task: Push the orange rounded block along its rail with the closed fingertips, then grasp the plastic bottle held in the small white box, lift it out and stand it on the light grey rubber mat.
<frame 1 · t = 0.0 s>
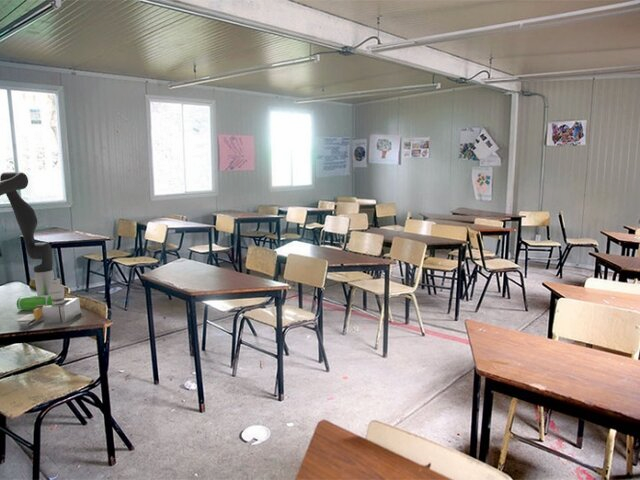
small white box: (60, 318, 238), on the table
plastic bottle: (60, 318, 238), resting in small white box
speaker: (37, 309, 254), on the table
orange rounded block: (40, 312, 236), point 4 cm above the table, slide at 0.0 cm
mat: (30, 318, 240), on the table
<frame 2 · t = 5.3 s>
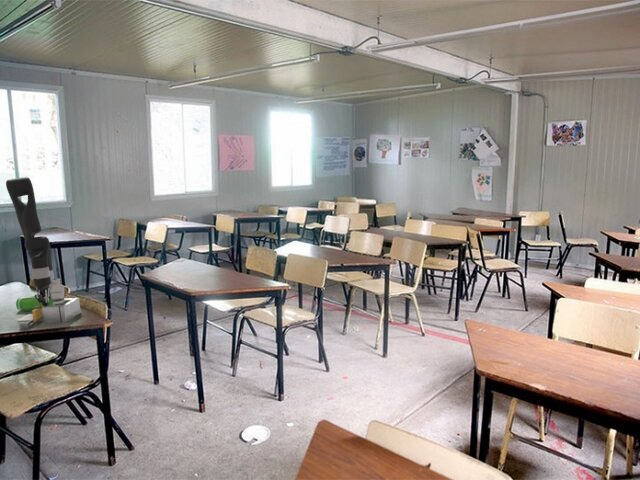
hand: (46, 309, 241), 4 cm above the table, fingers closed
orange rounded block: (38, 313, 235), point 4 cm above the table, slide at 1.2 cm, touching gripper
everything else where it was.
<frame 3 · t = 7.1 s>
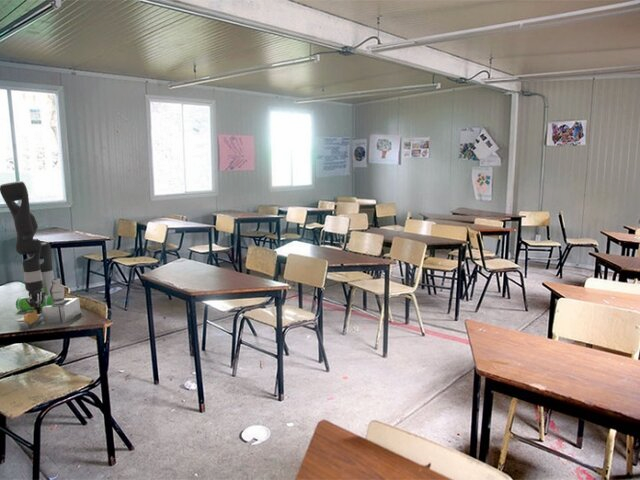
hand: (38, 313, 234), 4 cm above the table, fingers closed
orange rounded block: (30, 317, 228), point 4 cm above the table, slide at 8.1 cm, touching gripper
everything else where it was.
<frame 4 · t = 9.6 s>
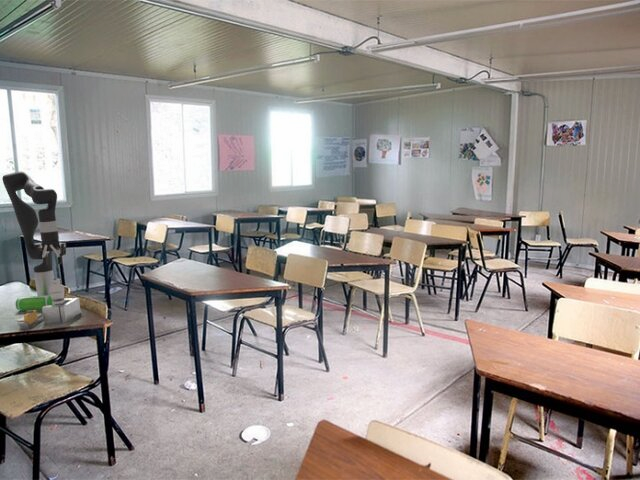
hand: (53, 264, 233), 28 cm above the table, fingers open, 6 cm apart
orange rounded block: (30, 317, 228), point 4 cm above the table, slide at 8.1 cm
everything else where it was.
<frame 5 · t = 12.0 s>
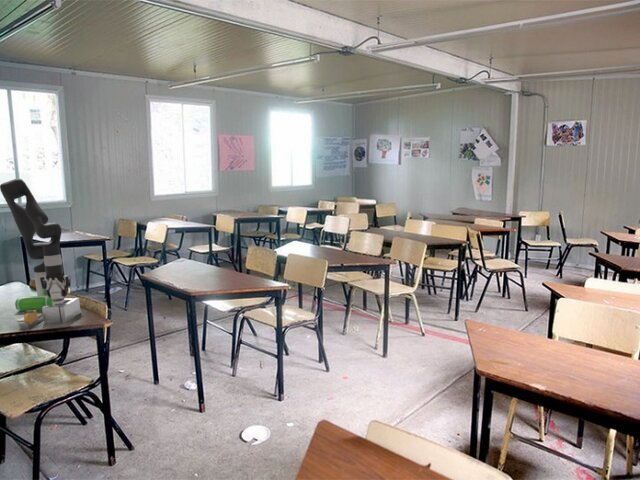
hand: (57, 296, 236), 11 cm above the table, fingers closed on plastic bottle, 6 cm apart
plastic bottle: (60, 318, 238), resting in small white box, touching gripper
everything else where it was.
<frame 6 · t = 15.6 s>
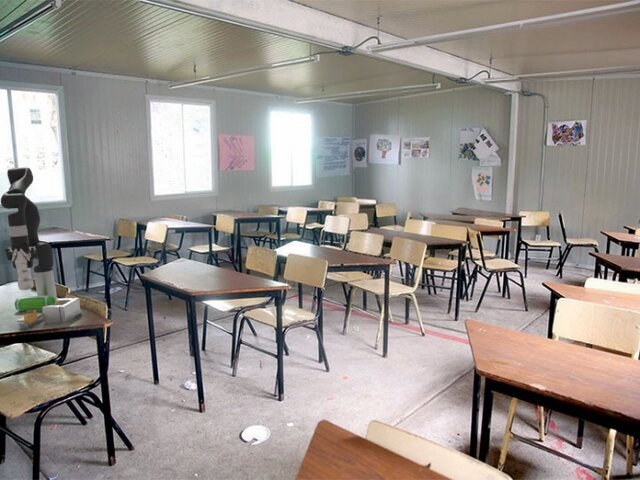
hand: (23, 267, 235), 26 cm above the table, fingers closed on plastic bottle, 6 cm apart
plastic bottle: (26, 290, 237), point 15 cm above the table, touching gripper
everything else where it was.
when the fingers open (13 cm above the table, at t = 18.9 s): plastic bottle stays where it is, resting on mat.
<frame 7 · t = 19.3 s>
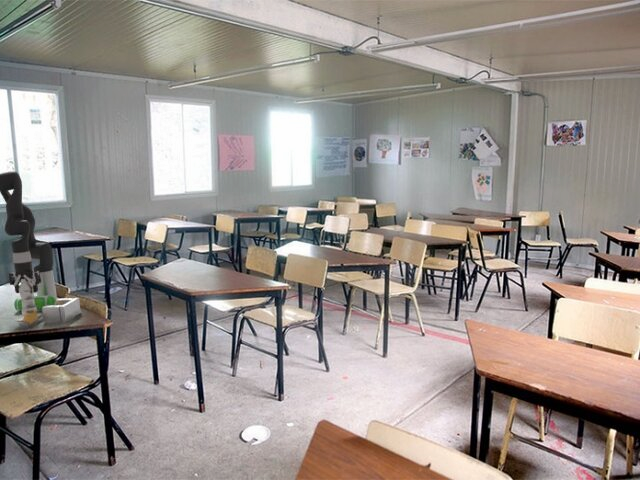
hand: (27, 292, 237), 13 cm above the table, fingers open, 8 cm apart
plastic bottle: (30, 317, 240), resting on mat
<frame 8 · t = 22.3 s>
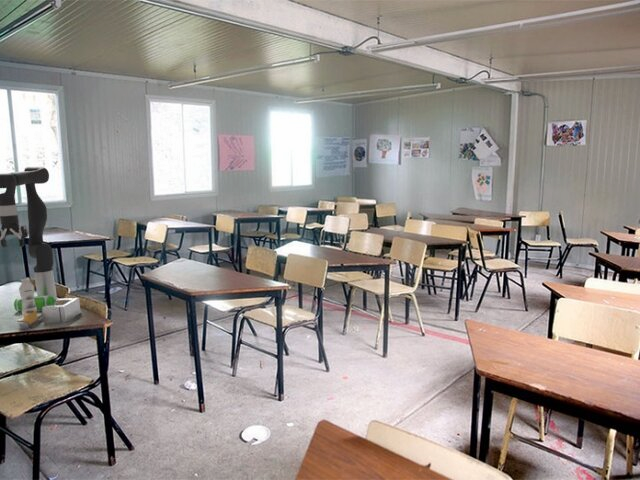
hand: (13, 246, 237), 36 cm above the table, fingers open, 8 cm apart
at the end: orange rounded block slide at 8.1 cm; plastic bottle inside the target area on the mat (0.1 cm from its centre), point 0.4 cm above the mat's base; plastic bottle tilted 0° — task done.
